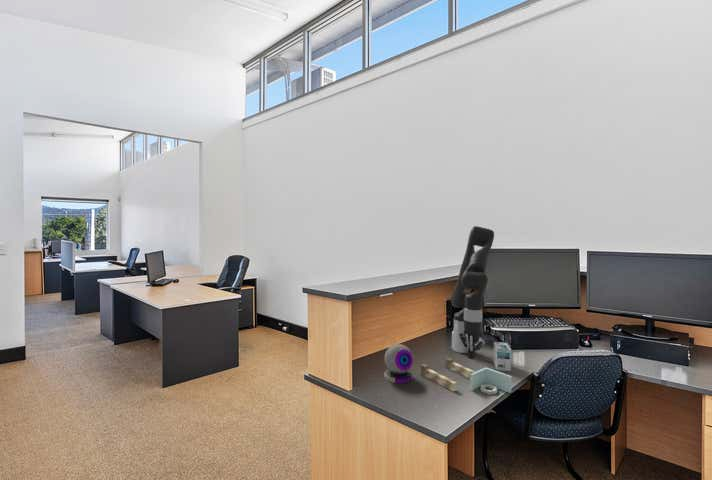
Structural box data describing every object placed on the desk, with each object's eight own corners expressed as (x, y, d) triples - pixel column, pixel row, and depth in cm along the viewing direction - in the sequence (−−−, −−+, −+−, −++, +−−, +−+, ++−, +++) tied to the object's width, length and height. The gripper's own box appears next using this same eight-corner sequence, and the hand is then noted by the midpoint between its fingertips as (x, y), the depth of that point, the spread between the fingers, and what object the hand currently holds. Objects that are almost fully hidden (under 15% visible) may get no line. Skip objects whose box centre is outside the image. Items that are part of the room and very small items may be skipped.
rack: (420, 374, 174) (420, 364, 173) (449, 366, 183) (449, 357, 183) (452, 391, 157) (452, 381, 156) (482, 382, 166) (482, 372, 166)
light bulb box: (511, 371, 178) (511, 349, 178) (496, 370, 180) (497, 348, 179) (506, 363, 189) (507, 342, 188) (492, 362, 190) (493, 341, 189)
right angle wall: (469, 391, 158) (470, 374, 158) (485, 383, 166) (485, 367, 166) (496, 402, 149) (496, 384, 149) (511, 393, 157) (511, 376, 156)
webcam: (392, 385, 162) (393, 351, 161) (379, 373, 174) (379, 342, 173) (418, 380, 167) (418, 347, 166) (403, 369, 179) (403, 339, 178)
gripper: (454, 316, 162) (453, 354, 163) (479, 324, 150) (477, 365, 152) (467, 313, 165) (465, 351, 167) (491, 321, 154) (489, 362, 155)
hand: (471, 358), depth 159 cm, fingers closed
